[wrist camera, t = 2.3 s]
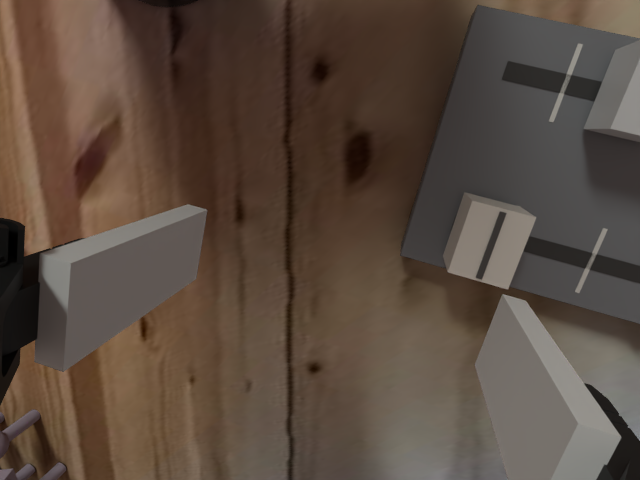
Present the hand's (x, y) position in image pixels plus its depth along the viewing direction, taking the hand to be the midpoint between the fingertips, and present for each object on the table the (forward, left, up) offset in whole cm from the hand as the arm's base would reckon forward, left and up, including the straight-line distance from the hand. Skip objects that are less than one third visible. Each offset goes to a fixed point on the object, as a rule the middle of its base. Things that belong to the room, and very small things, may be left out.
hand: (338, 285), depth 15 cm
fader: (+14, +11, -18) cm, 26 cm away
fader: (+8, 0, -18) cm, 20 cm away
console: (+18, +5, -22) cm, 29 cm away
